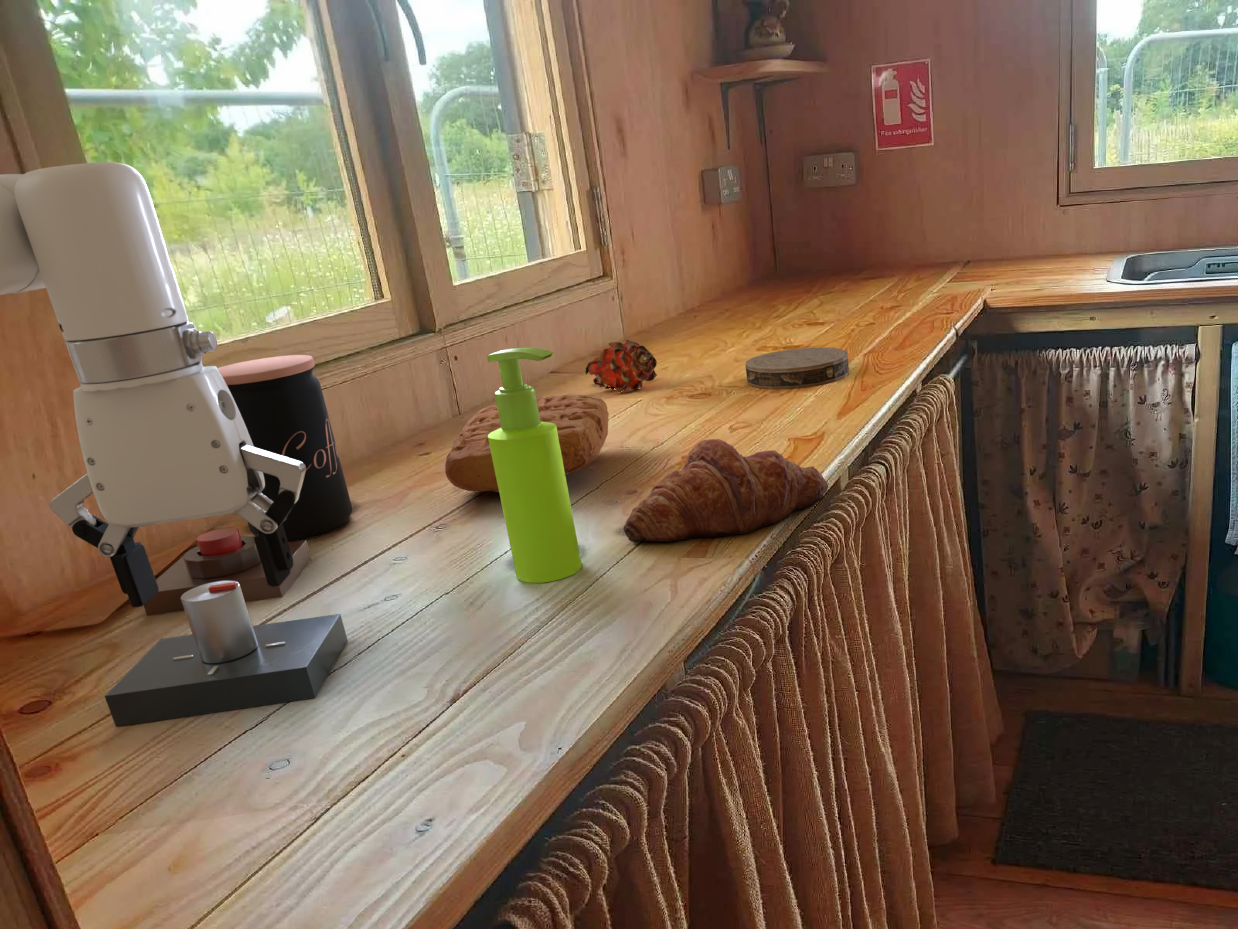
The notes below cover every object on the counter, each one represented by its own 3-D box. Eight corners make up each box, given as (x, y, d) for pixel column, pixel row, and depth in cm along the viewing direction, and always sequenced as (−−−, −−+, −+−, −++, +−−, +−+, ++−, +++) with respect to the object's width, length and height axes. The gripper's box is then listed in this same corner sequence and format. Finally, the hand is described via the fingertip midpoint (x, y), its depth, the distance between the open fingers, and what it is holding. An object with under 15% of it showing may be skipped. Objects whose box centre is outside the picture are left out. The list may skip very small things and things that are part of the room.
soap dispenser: (570, 585, 95) (528, 355, 88) (504, 581, 97) (456, 358, 90) (603, 560, 100) (565, 341, 93) (538, 558, 102) (496, 344, 95)
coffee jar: (309, 546, 113) (262, 374, 107) (230, 544, 117) (179, 378, 110) (375, 512, 122) (335, 352, 116) (299, 511, 126) (256, 356, 119)
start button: (196, 561, 101) (190, 543, 100) (209, 548, 104) (204, 530, 103) (235, 555, 101) (230, 537, 100) (248, 542, 104) (243, 525, 104)
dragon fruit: (666, 398, 172) (597, 413, 175) (669, 358, 176) (602, 374, 180) (643, 362, 165) (572, 378, 168) (648, 322, 169) (579, 338, 173)
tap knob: (192, 666, 80) (170, 600, 78) (211, 644, 84) (191, 580, 82) (248, 658, 80) (227, 592, 78) (265, 637, 84) (245, 573, 82)
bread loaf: (493, 458, 141) (480, 397, 138) (623, 445, 140) (614, 383, 137) (440, 511, 120) (425, 441, 117) (593, 497, 119) (581, 426, 116)
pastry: (700, 490, 117) (690, 417, 114) (834, 493, 111) (827, 417, 108) (622, 545, 103) (609, 464, 100) (771, 552, 97) (761, 466, 94)
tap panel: (115, 726, 78) (103, 693, 77) (170, 666, 87) (160, 636, 86) (315, 697, 79) (305, 665, 78) (348, 641, 88) (340, 611, 87)
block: (147, 616, 99) (133, 575, 97) (188, 577, 108) (176, 539, 106) (282, 597, 100) (270, 556, 98) (312, 560, 109) (301, 522, 107)
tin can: (726, 384, 170) (724, 365, 169) (799, 363, 179) (797, 345, 178) (796, 392, 158) (795, 372, 157) (870, 370, 168) (869, 350, 167)
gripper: (283, 333, 78) (345, 555, 84) (33, 366, 77) (115, 589, 83) (249, 349, 71) (319, 590, 77) (-26, 386, 70) (68, 628, 76)
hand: (213, 590), depth 80 cm, fingers open, 9 cm apart
